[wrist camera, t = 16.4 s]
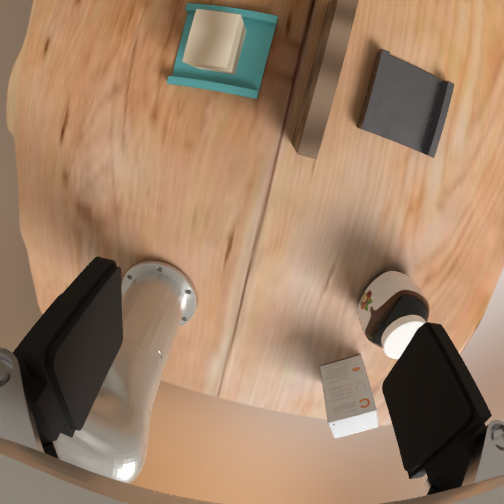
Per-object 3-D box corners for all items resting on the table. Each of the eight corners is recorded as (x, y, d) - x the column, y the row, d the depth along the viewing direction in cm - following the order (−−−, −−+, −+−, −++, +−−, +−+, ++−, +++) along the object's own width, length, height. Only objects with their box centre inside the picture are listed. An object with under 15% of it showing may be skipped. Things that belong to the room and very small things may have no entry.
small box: (326, 384, 57) (333, 439, 46) (319, 365, 55) (326, 423, 43) (365, 373, 56) (379, 427, 44) (361, 353, 53) (377, 410, 41)
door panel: (307, 148, 38) (316, 159, 31) (291, 143, 38) (297, 154, 30) (344, 7, 29) (361, -12, 21) (328, 2, 28) (342, -19, 21)
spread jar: (384, 257, 44) (412, 303, 34) (432, 285, 46) (462, 329, 35) (340, 315, 49) (354, 368, 39) (389, 336, 51) (408, 384, 41)
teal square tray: (277, 19, 30) (277, 16, 29) (256, 99, 35) (256, 98, 34) (190, 6, 30) (187, 3, 28) (171, 84, 34) (166, 83, 33)
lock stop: (247, 27, 31) (242, 9, 23) (234, 75, 34) (226, 68, 26) (211, 21, 30) (197, 3, 23) (199, 69, 33) (182, 61, 26)
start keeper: (428, 155, 37) (433, 157, 35) (357, 127, 36) (361, 128, 34) (447, 84, 32) (454, 84, 30) (377, 50, 31) (382, 49, 29)
